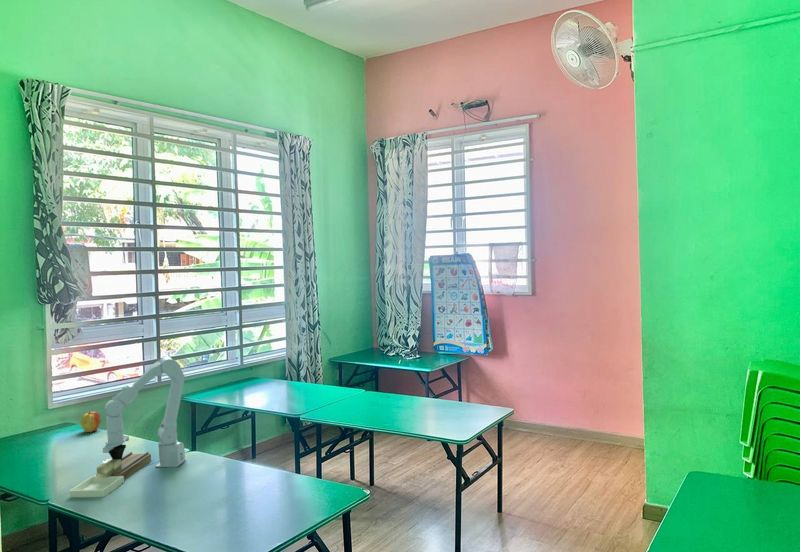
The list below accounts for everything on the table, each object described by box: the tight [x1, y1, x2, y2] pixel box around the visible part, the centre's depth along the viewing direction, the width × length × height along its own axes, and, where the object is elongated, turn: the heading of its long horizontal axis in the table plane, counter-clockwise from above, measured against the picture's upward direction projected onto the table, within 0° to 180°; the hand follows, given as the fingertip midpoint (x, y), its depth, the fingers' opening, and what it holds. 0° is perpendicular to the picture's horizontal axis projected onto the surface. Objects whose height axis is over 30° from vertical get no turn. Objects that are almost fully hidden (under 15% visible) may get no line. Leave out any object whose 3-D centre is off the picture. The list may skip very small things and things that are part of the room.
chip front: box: [95, 462, 113, 478], centre depth 218 cm, size 4×4×4 cm
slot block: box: [95, 451, 152, 481], centre depth 231 cm, size 10×22×4 cm, turn 175°
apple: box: [80, 411, 102, 433], centre depth 288 cm, size 9×9×10 cm
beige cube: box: [106, 458, 122, 473], centre depth 222 cm, size 4×4×4 cm
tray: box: [68, 475, 125, 498], centre depth 213 cm, size 13×13×2 cm
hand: (117, 464), depth 226 cm, fingers closed
